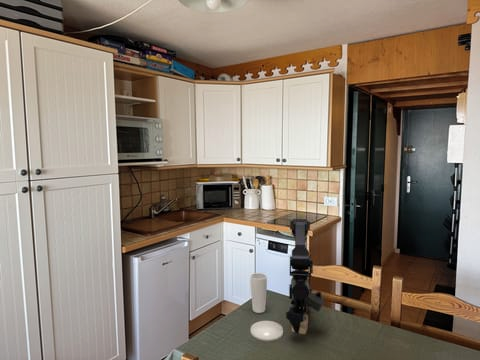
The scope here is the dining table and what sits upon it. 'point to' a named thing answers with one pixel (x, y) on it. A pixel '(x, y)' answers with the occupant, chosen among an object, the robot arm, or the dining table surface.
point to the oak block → (303, 326)
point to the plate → (266, 330)
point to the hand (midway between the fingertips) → (299, 326)
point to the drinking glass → (258, 291)
